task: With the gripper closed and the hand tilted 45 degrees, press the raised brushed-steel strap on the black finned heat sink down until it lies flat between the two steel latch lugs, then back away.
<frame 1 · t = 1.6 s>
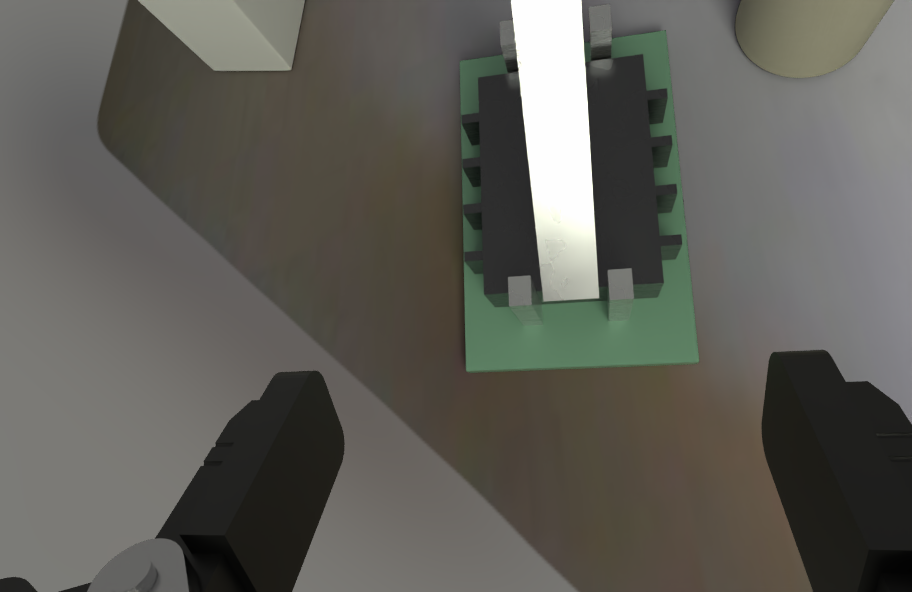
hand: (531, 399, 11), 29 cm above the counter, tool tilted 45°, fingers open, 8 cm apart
heat sink: (564, 171, 37), on the circuit board, point 4 cm above the counter
circuit board: (568, 203, 41), on the counter
retention strap: (559, 158, 31), point 11 cm above the counter, hinge at 40.0°
milk carton: (262, 33, 50), on the counter
travel mug: (798, 27, 41), on the counter
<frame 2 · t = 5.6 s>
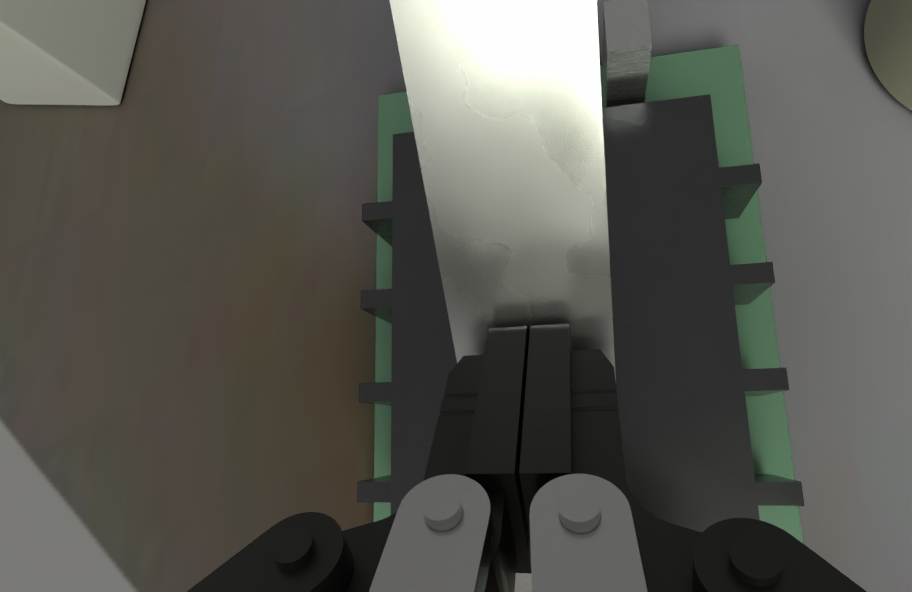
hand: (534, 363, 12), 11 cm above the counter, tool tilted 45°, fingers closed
heat sink: (555, 324, 19), on the circuit board, point 4 cm above the counter
circuit board: (564, 354, 23), on the counter
retention strap: (537, 368, 13), point 11 cm above the counter, hinge at 39.8°, touching gripper
milk carton: (85, 45, 32), on the counter
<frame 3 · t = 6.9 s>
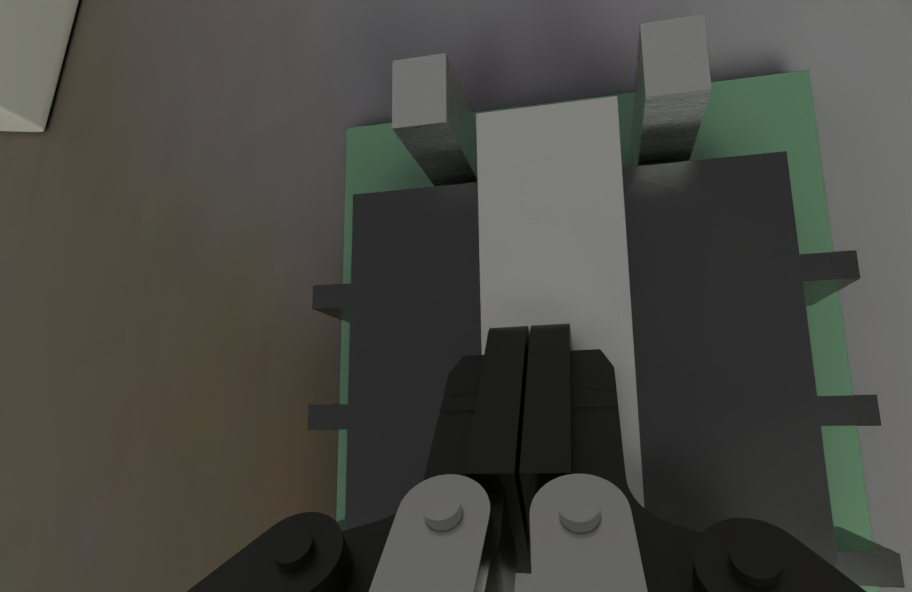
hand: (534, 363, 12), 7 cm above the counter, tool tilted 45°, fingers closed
heat sink: (567, 464, 14), on the circuit board, point 4 cm above the counter
circuit board: (577, 468, 18), on the counter
retention strap: (563, 477, 12), point 6 cm above the counter, hinge at 1.4°, touching gripper
milk carton: (8, 58, 27), on the counter
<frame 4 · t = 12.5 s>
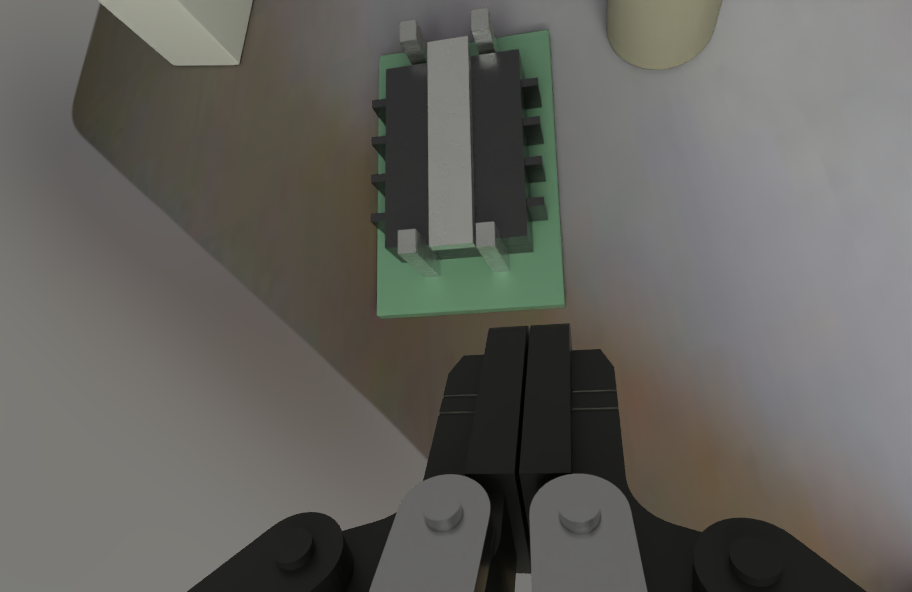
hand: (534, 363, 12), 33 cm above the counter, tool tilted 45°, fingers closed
heat sink: (454, 146, 45), on the circuit board, point 4 cm above the counter
circuit board: (467, 176, 49), on the counter
retention strap: (450, 140, 43), point 6 cm above the counter, hinge at -0.4°, touching heat sink
milk carton: (215, 33, 58), on the counter
travel mug: (659, 27, 48), on the counter
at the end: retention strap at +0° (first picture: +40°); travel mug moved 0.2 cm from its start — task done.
